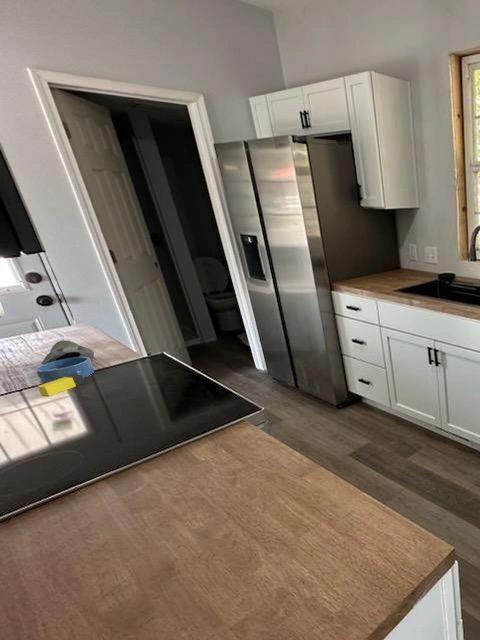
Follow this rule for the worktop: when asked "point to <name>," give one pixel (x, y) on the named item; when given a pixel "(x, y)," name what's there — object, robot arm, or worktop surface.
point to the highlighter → (61, 384)
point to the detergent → (67, 352)
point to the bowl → (64, 369)
